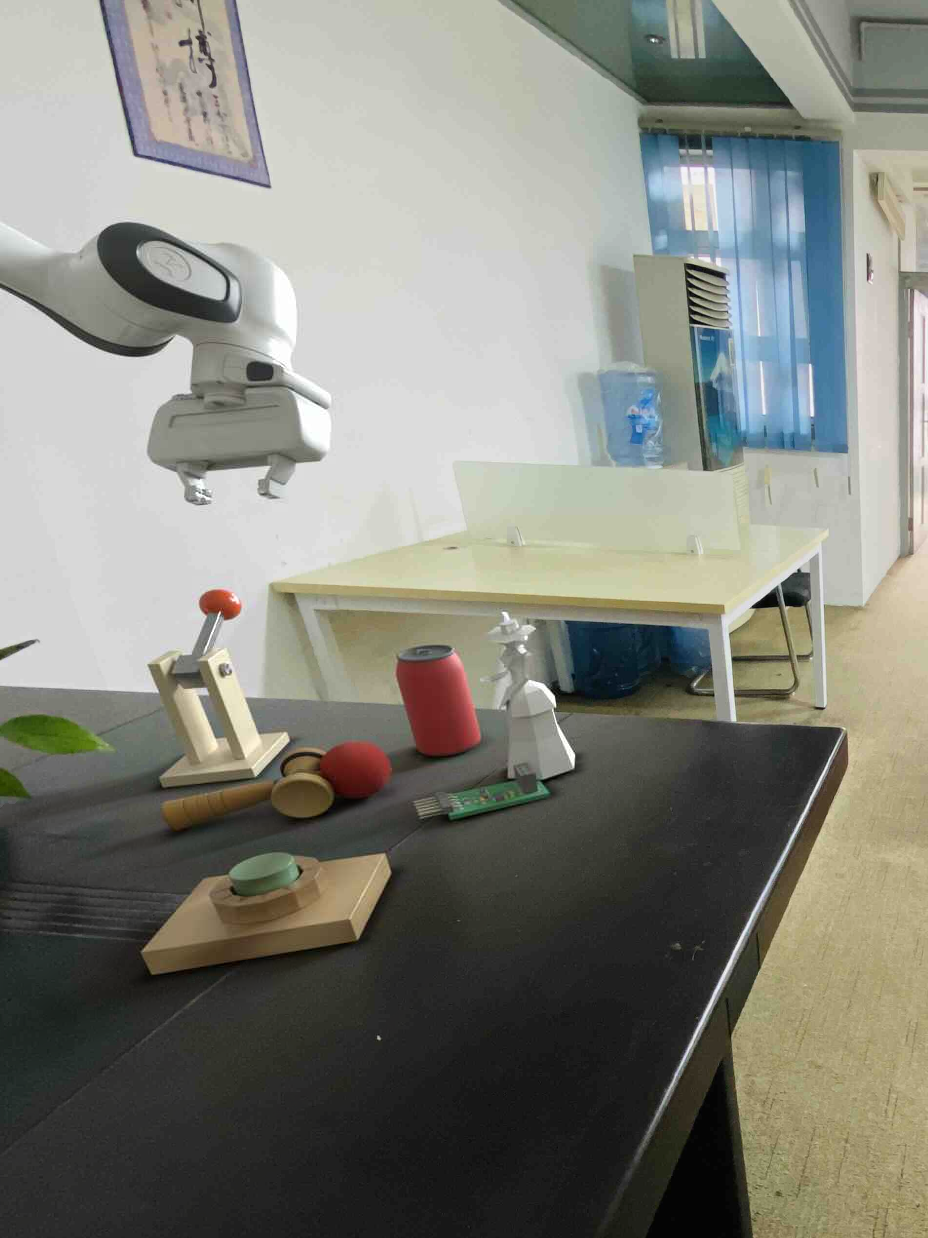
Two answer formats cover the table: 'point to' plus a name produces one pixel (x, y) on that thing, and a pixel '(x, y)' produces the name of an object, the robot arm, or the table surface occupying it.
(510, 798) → the circuit board
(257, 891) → the button
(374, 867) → the button block
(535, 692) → the figurine
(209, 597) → the lever
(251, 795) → the kendama
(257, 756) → the bracket
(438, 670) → the beer can
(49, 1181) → the table surface
